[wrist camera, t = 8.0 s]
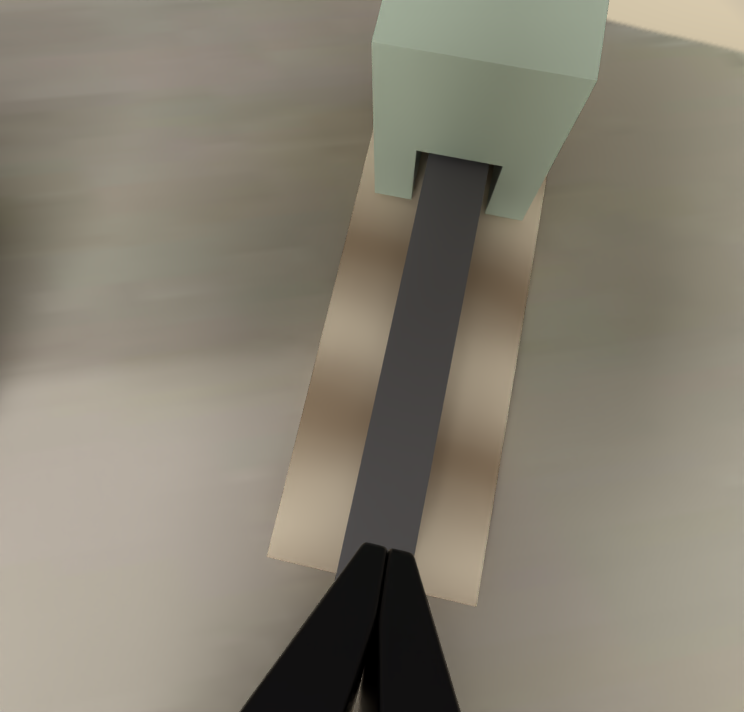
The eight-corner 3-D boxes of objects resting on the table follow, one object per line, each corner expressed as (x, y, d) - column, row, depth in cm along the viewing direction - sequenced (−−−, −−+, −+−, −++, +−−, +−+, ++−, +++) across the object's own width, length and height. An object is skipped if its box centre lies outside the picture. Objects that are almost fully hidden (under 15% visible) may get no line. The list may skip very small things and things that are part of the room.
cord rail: (400, 588, 18) (403, 609, 15) (340, 574, 18) (332, 592, 15) (498, 83, 22) (516, 21, 19) (449, 74, 22) (460, 11, 19)
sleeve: (522, 220, 20) (597, 80, 13) (374, 192, 20) (371, 41, 13) (538, 128, 21) (616, -50, 14) (396, 102, 21) (404, -83, 14)
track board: (468, 597, 19) (476, 606, 17) (275, 551, 19) (266, 556, 18) (554, 88, 23) (565, 62, 22) (395, 61, 24) (396, 34, 22)
